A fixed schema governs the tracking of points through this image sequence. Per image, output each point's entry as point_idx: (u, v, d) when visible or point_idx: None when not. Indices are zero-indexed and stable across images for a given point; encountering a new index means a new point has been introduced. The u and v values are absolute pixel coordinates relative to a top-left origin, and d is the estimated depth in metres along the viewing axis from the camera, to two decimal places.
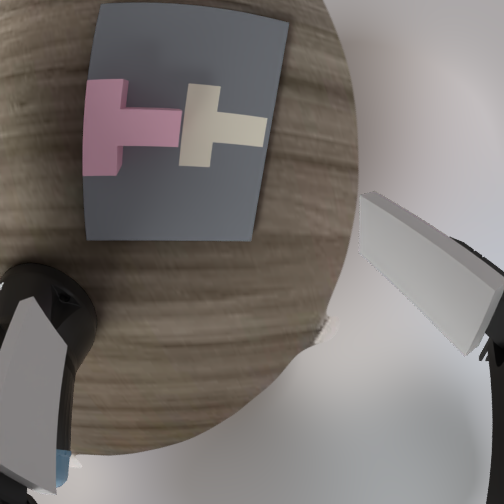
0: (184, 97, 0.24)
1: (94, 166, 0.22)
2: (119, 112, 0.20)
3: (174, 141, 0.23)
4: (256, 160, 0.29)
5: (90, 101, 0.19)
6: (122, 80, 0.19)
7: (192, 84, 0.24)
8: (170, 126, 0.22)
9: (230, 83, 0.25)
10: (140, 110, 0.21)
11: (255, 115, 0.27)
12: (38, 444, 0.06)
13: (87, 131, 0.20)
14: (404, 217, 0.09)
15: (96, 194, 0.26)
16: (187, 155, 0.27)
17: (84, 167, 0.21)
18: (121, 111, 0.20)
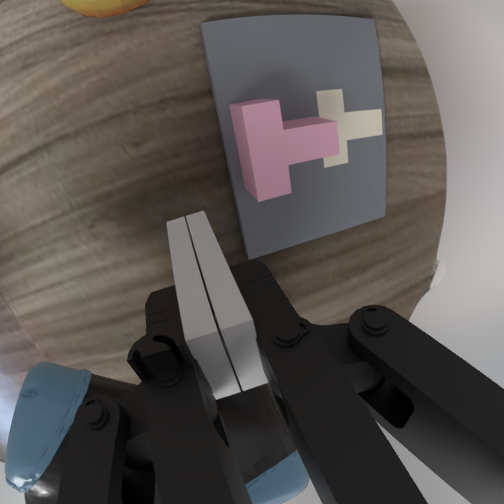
0: (316, 105, 0.26)
1: (269, 189, 0.25)
2: (282, 133, 0.23)
3: (336, 150, 0.25)
4: (380, 147, 0.30)
5: (251, 127, 0.22)
6: (277, 101, 0.21)
7: (319, 91, 0.25)
8: (330, 137, 0.24)
9: (348, 84, 0.26)
10: (302, 127, 0.23)
11: (372, 108, 0.28)
12: None
13: (255, 157, 0.23)
14: (201, 239, 0.10)
15: (254, 214, 0.30)
16: (329, 157, 0.29)
17: (259, 193, 0.25)
18: (285, 131, 0.23)
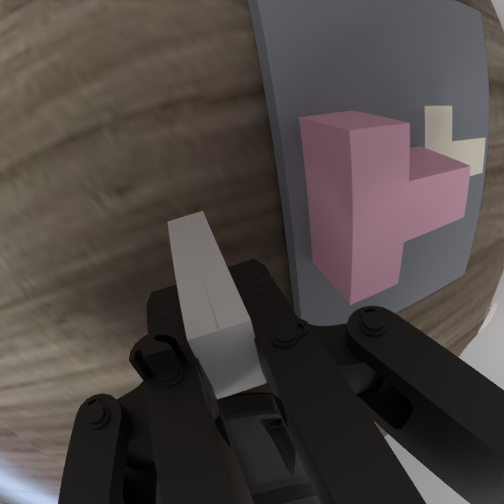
0: (423, 128, 0.15)
1: (370, 284, 0.13)
2: (405, 186, 0.12)
3: (462, 211, 0.13)
4: (478, 189, 0.19)
5: (362, 176, 0.10)
6: (407, 126, 0.10)
7: (428, 107, 0.14)
8: (460, 191, 0.13)
9: (458, 100, 0.14)
10: (433, 176, 0.12)
11: (478, 137, 0.17)
12: None
13: (360, 234, 0.12)
14: (200, 240, 0.10)
15: (320, 298, 0.19)
16: None
17: (353, 292, 0.13)
18: (411, 184, 0.11)
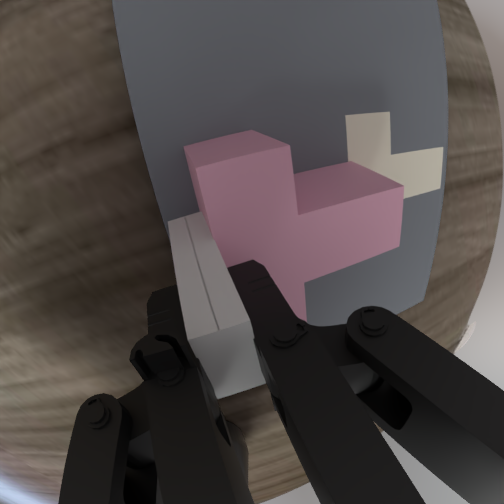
0: (344, 142, 0.14)
1: None
2: (296, 220, 0.11)
3: (395, 240, 0.13)
4: (434, 208, 0.18)
5: (223, 217, 0.10)
6: (287, 149, 0.09)
7: (351, 116, 0.13)
8: (389, 218, 0.12)
9: (400, 104, 0.14)
10: (339, 205, 0.11)
11: (432, 146, 0.16)
12: None
13: None
14: (199, 240, 0.10)
15: None
16: None
17: None
18: (302, 218, 0.11)
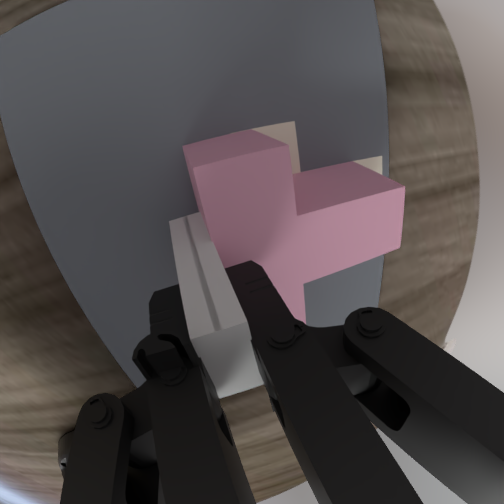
0: None
1: None
2: (295, 221, 0.11)
3: (396, 241, 0.12)
4: None
5: (220, 217, 0.09)
6: (286, 148, 0.09)
7: None
8: (390, 219, 0.12)
9: (310, 110, 0.12)
10: (338, 206, 0.11)
11: (364, 157, 0.14)
12: None
13: None
14: (197, 241, 0.10)
15: None
16: None
17: None
18: (301, 219, 0.10)
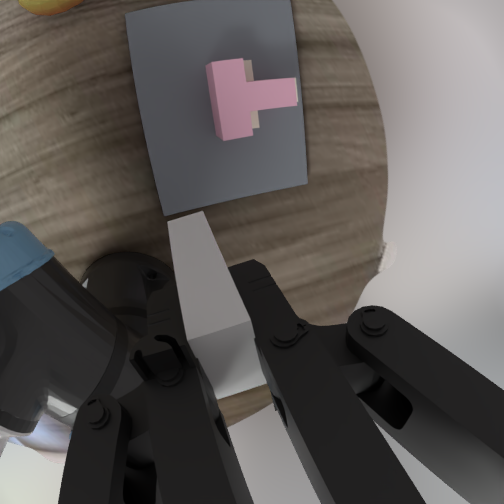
0: None
1: (233, 131, 0.28)
2: (245, 85, 0.26)
3: (294, 101, 0.28)
4: (296, 113, 0.32)
5: (219, 78, 0.25)
6: (242, 59, 0.24)
7: None
8: (288, 90, 0.27)
9: (258, 55, 0.28)
10: (263, 81, 0.26)
11: (285, 77, 0.30)
12: None
13: (221, 103, 0.26)
14: (200, 240, 0.10)
15: (166, 172, 0.32)
16: None
17: (224, 133, 0.28)
18: (247, 83, 0.26)
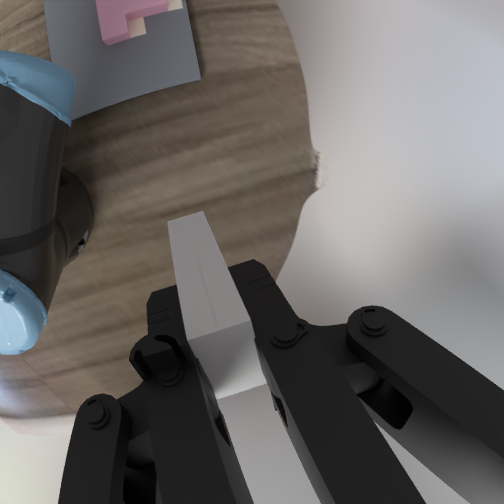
0: None
1: (110, 31, 0.23)
2: None
3: (165, 0, 0.23)
4: (181, 18, 0.28)
5: None
6: None
7: None
8: None
9: None
10: None
11: None
12: None
13: (100, 12, 0.22)
14: (200, 240, 0.10)
15: None
16: None
17: (102, 34, 0.23)
18: None
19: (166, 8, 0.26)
